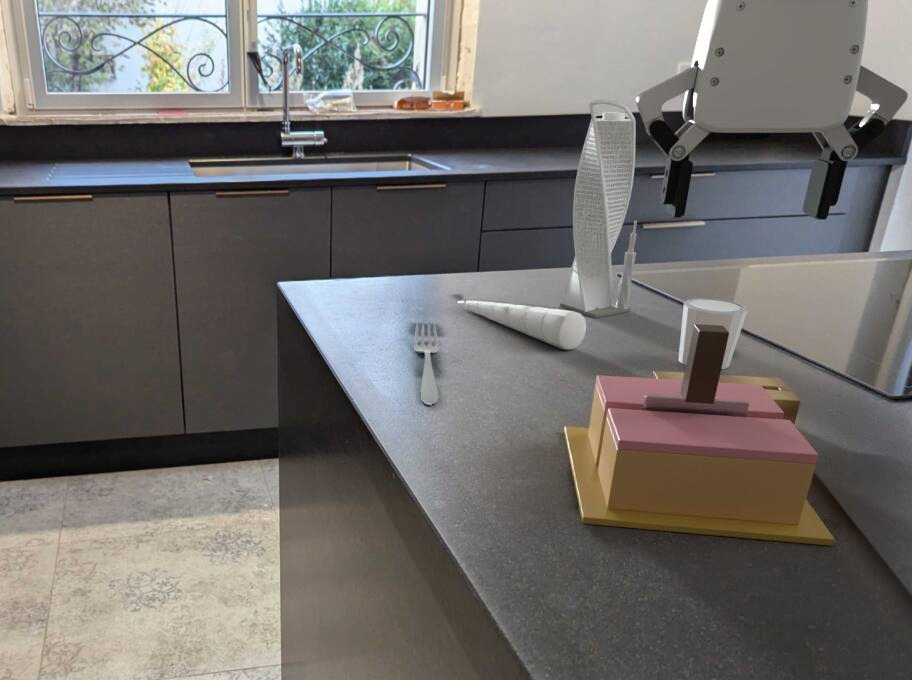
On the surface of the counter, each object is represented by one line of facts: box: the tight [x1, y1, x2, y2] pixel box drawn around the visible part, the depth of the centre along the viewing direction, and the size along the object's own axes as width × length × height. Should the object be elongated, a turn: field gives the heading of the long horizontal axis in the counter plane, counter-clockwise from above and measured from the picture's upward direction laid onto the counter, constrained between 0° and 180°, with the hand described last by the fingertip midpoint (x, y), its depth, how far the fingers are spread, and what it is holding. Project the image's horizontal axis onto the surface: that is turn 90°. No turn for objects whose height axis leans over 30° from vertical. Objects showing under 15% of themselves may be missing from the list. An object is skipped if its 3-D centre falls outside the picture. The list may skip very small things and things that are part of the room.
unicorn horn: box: [457, 300, 587, 351], centre depth 111 cm, size 5×24×5 cm, turn 24°
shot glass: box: [678, 297, 749, 370], centre depth 97 cm, size 7×7×7 cm
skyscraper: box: [559, 99, 638, 319], centre depth 114 cm, size 8×8×28 cm
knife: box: [642, 324, 749, 417], centre depth 68 cm, size 8×2×13 cm, turn 79°
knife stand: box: [651, 370, 802, 425], centre depth 81 cm, size 12×6×4 cm, turn 79°
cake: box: [563, 374, 836, 547], centre depth 69 cm, size 18×18×7 cm
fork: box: [413, 323, 440, 404], centre depth 97 cm, size 3×24×2 cm, turn 174°
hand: (743, 215), depth 61 cm, fingers open, 9 cm apart
